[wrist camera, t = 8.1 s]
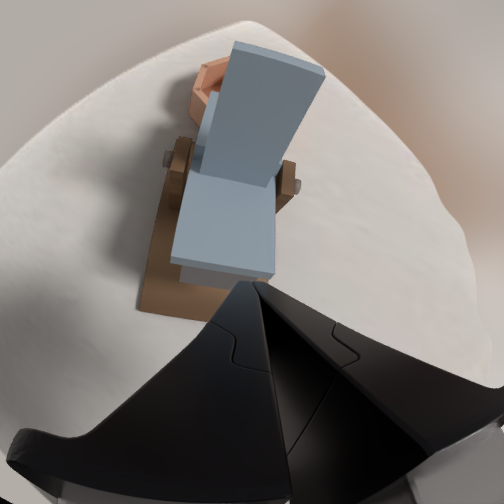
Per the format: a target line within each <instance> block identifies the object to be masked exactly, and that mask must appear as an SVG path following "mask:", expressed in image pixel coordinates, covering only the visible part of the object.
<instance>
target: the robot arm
mask: <svg viewBox="0 0 504 504" xmlns="http://www.w3.org/2000/svg"><path fill="white" fill-rule="evenodd" d="M503 425H504V386H503V387H501V388H495V389H493V388H488V387H485V386H482V385H480V384H477V383H475V382H472V381H470V380H467V379H465V378H462V377H460V376H457V375H455V374H452V373H450V372H447V371H445V370H443V369H440V368H438V367H435V366H433V365H431V364H428V363H426V362H423V361H421V360H419V359H416V358H414V357H412V356H409V355H407V354H405V353H402V352H400V351H398V350H395V349H393V348H391V347H389V346H386V345H384V344H382V343H379V342H377V341H375V340H373V339H371V338H368V337H366V336H364V335H362V334H360V333H358V332H356V331H354V330H352V329H350V328H348V327H346V326H344V325H343V324H341V323H339V322H337V323H336V321H334V320H332V319H331V318H329V317H327V316H325V315H323V314H321V313H320V312H318V311H316V310H314V309H312V308H311V307H309V306H307V305H305V304H303V303H301V302H300V301H298V300H296V299H294V298H292V297H291V296H289V295H287V294H285V293H283V292H282V291H280V290H278V289H276V288H274V287H273V286H271V285H269V284H267V283H266V282H263V281H252V282H250V281H242V280H239V281H238V282H237V283H236V284H235V286H234V287H233V289H232V290H231V291H230V293H229V294H228V295H227V297H226V298H225V300H224V301H223V302H222V304H221V305H220V307H219V308H218V309H217V311H216V312H215V313H214V315H213V316H212V318H211V319H210V320H209V322H208V323H207V324H206V325H205V327H204V328H203V329H202V330H201V332H200V333H199V334H198V335H197V337H196V338H195V339H194V340H193V341H192V342H191V343H190V344H189V345H188V346H187V347H185V348H184V349H183V350H182V351H181V352H180V353H179V354H178V355H177V356H175V357H174V358H173V359H172V360H171V361H170V362H169V363H168V364H167V365H166V366H164V367H163V368H162V369H161V370H160V371H159V372H158V373H157V374H155V375H154V376H153V377H152V378H151V379H150V380H149V381H148V382H146V383H145V384H144V385H143V386H142V387H141V388H140V389H139V390H137V391H136V392H135V393H134V394H133V395H132V396H131V397H129V398H128V399H127V400H126V401H125V402H124V403H123V404H121V405H120V406H119V407H118V408H117V409H116V410H114V411H113V412H112V413H111V414H110V415H109V416H108V417H106V418H105V419H104V420H103V421H102V422H101V423H99V424H98V425H97V426H96V427H95V428H94V429H92V430H91V431H90V432H88V433H86V434H85V435H82V436H79V437H72V438H66V437H60V436H57V435H54V434H50V433H47V432H44V431H40V430H36V429H31V428H24V429H20V430H19V431H18V433H17V434H16V436H15V437H14V439H13V442H12V443H11V446H10V448H9V451H8V455H7V458H6V462H7V464H8V465H9V466H10V467H11V468H12V469H13V470H15V471H16V472H18V473H19V474H20V475H21V476H23V477H24V478H26V479H27V480H29V481H30V482H32V483H33V484H35V485H36V486H38V487H39V488H41V489H42V490H44V491H46V492H47V493H49V494H51V495H52V496H54V497H56V498H57V504H285V503H286V502H287V501H289V500H290V504H504V433H503V431H502V429H501V427H502V426H503ZM0 504H12V503H10V502H9V501H7V500H5V499H3V498H1V497H0Z"/></svg>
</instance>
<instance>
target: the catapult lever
mask: <svg viewBox="0 0 504 504" xmlns="http://www.w3.org/2000/svg"><path fill="white" fill-rule="evenodd" d="M325 77H326V76H325V73H324V70H323V67H320V66H318V65H315V64H312V63H310V62H307V61H304V60H301V59H298V58H295V57H292V56H289V55H286V54H283V53H279V52H276V51H273V50H269V49H266V48H262V47H258V46H255V45H251V44H247V43H243V42H238V41H235V43H234V46H233V49H232V52H231V55H230V59H229V62H228V65H227V68H226V72H225V75H224V79H223V82H222V86H221V89H220V93H219V92H215V91H211V93H210V96H209V99H208V103H207V106H206V109H205V112H204V116H203V119H202V123H201V126H200V129H199V133H198V137H197V140H196V144H195V148H194V153H193V159H192V163H191V166H190V170H189V174H188V179H187V183H186V187H185V191H184V195H183V200H182V204H181V209H180V213H179V218H178V222H177V227H176V232H175V237H174V242H173V247H172V252H171V260H170V263H173V264H179V265H182V267H181V273H180V280H179V282H182V283H188V284H195V285H201V286H207V287H213V288H220V289H226V290H232V289H233V287H234V286H235V284H236V283H237V282H238V281H239V280H242V281H250V282H252V281H257V279H258V278H264V279H271V278H272V276H273V275H274V274H275V177H276V175H277V173H278V171H279V169H280V168H281V166H282V157H283V155H284V153H285V151H286V149H287V147H288V146H289V144H290V142H291V140H292V138H293V136H294V134H295V132H296V131H297V129H298V127H299V125H300V123H301V121H302V119H303V118H304V116H305V114H306V112H307V110H308V108H309V107H310V105H311V103H312V101H313V99H314V97H315V96H316V94H317V92H318V90H319V88H320V86H321V85H322V83H323V81H324V79H325ZM218 95H219V96H218ZM217 99H218V100H217Z"/></svg>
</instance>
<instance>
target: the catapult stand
mask: <svg viewBox="0 0 504 504" xmlns="http://www.w3.org/2000/svg"><path fill="white" fill-rule="evenodd" d="M195 144H196V143H195V142H192V139H191V138H186V137H180V136H179V139H177V140H176V144H175V147H174V151H173V152H172V151H166V152H165V155H164V159H163V167H169V169H168V172H167V176H166V180H165V184H164V188H163V192H162V196H161V200H160V204H159V208H158V213H157V217H156V221H155V226H154V231H153V235H152V240H151V245H150V250H149V256H148V261H147V266H146V272H145V278H144V284H143V290H142V296H141V303H140V310H139V311H144V312H149V313H155V314H161V315H166V316H173V317H179V318H185V319H192V320H198V321H205V322H209V320H210V319H211V318H212V316H213V315H214V313H215V312H216V311H217V309H218V308H219V307H220V305H221V304H222V302H223V301H224V300H225V298H226V297H227V295H228V294H229V293H230V291H231V290H226V289H220V288H213V287H207V286H201V285H195V284H188V283H182V282H179V280H180V273H181V267H182V265H179V264H173V263H170V260H171V252H172V247H173V242H174V237H175V232H176V227H177V222H178V218H179V213H180V209H181V204H182V200H183V195H184V191H185V187H186V183H187V179H188V174H189V170H190V166H191V163H192V159H193V153H194V148H195ZM295 167H296V163H294V162H291V161H287V160H283V162H282V166H281V168H280V169H279V171H278V173H277V175H276V177H275V214H276V213H277V212H278V211H279V210H280V209H281V208H282V207H283V206H285V205H286V204H287V203H288V202H289V201H290V200H291V199H292V198H293V197H294V194H295V195H297V194H298V193H299V191H300V188H301V180H299V179H295ZM257 281H263V282H266V283H267V284H268V279H264V278H258V279H257Z"/></svg>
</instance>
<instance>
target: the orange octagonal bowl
mask: <svg viewBox="0 0 504 504" xmlns="http://www.w3.org/2000/svg"><path fill="white" fill-rule="evenodd" d="M229 59H230V56H228V57H225V58H221V59H218V60H215V61H212V62H208V63H205V64H202V65H201V68H200V70H199V73H198V76H197V78H196V81H195V84H194V87H193V89H192V95H191V101H190V108H189V115H190V117H191V118H192V119H193V120H194V122H195V123H196V124H197V125H198V126H199V128H200V126H201V123H202V119H203V116H204V112H205V109H206V106H207V103H208V99H209V96H210V93H211V91H215V92H219V93H220V89H221V86H222V82H223V79H224V75H225V72H226V68H227V65H228V62H229ZM218 96H219V95H218ZM217 100H218V99H217Z"/></svg>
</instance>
